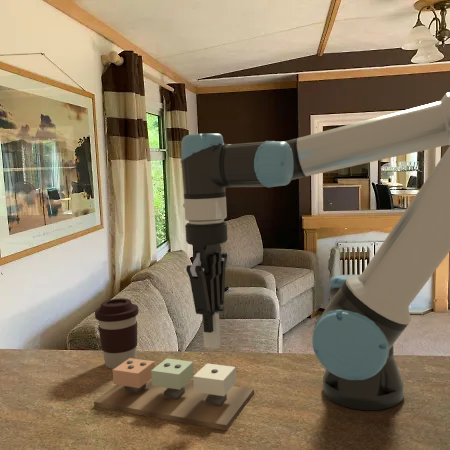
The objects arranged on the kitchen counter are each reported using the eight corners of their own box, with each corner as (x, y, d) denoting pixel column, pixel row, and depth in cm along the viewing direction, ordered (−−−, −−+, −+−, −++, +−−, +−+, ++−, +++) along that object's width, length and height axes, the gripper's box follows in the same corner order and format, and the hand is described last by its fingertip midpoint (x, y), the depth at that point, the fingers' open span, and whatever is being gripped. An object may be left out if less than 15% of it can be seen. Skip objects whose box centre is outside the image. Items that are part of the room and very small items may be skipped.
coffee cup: (132, 373, 108) (127, 308, 106) (92, 372, 110) (86, 308, 108) (148, 356, 118) (143, 296, 116) (110, 354, 120) (105, 296, 118)
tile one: (236, 381, 92) (235, 366, 92) (224, 396, 87) (223, 379, 86) (207, 378, 95) (206, 362, 94) (194, 391, 89) (193, 375, 89)
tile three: (155, 375, 100) (154, 360, 99) (139, 388, 94) (138, 372, 94) (130, 371, 102) (129, 357, 101) (113, 384, 96) (112, 368, 96)
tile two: (194, 376, 96) (193, 360, 95) (179, 389, 90) (178, 373, 90) (167, 372, 98) (166, 357, 98) (152, 385, 93) (151, 369, 92)
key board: (253, 393, 96) (253, 383, 95) (226, 430, 83) (226, 418, 83) (134, 376, 107) (133, 366, 106) (94, 406, 94) (93, 395, 94)
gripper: (202, 216, 94) (208, 333, 97) (169, 225, 82) (177, 357, 85) (238, 216, 91) (243, 336, 94) (209, 226, 79) (216, 363, 82)
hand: (212, 346), depth 90 cm, fingers closed
